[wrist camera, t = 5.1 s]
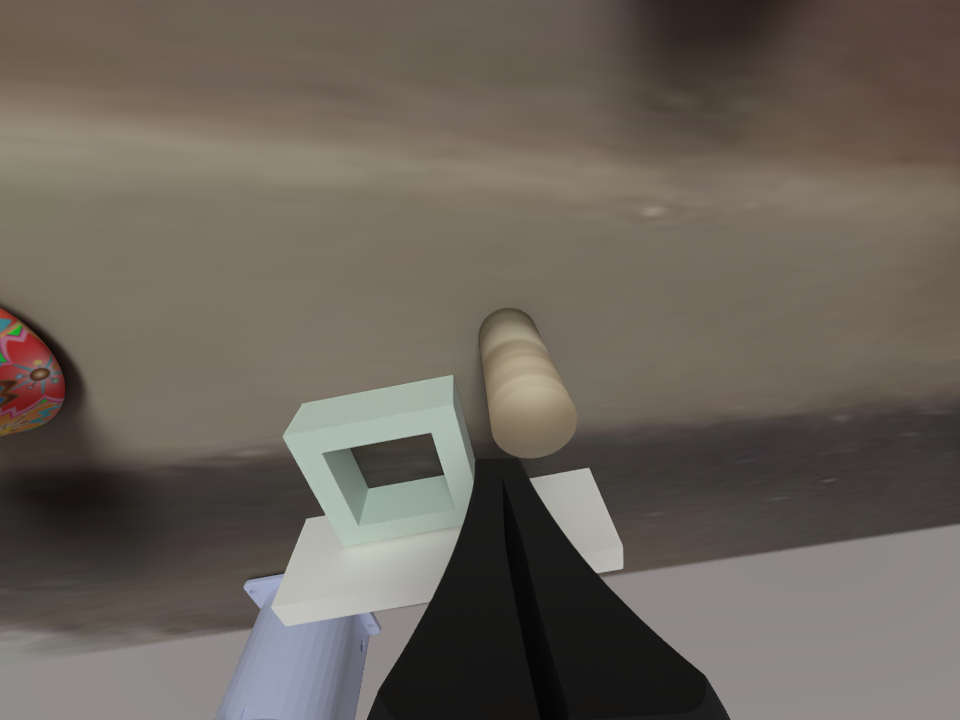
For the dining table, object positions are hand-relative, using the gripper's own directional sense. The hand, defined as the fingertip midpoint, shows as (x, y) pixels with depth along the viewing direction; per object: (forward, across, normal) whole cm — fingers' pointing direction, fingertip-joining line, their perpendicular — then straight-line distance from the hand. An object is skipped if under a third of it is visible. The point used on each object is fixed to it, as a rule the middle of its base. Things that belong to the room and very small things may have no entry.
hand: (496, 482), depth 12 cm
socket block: (+10, +5, +8) cm, 14 cm away
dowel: (+10, -2, 0) cm, 11 cm away
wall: (+10, +2, +13) cm, 16 cm away
